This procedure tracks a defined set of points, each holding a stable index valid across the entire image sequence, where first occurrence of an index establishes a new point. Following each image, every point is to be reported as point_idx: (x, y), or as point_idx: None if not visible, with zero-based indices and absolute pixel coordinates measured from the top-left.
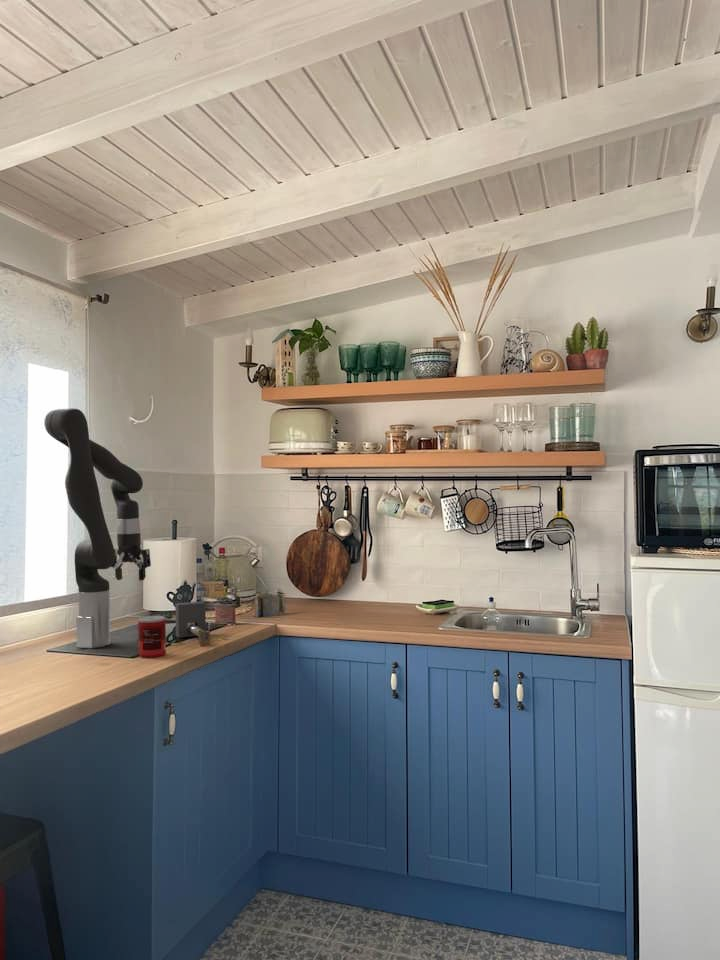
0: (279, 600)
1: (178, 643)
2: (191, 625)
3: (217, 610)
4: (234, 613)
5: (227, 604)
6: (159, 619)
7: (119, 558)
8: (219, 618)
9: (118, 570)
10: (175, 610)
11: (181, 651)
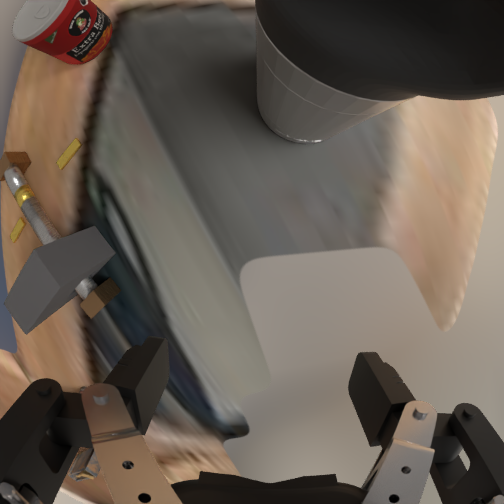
0: (73, 468)
1: (65, 152)
2: None
3: None
4: None
5: None
6: (21, 7)
7: (411, 492)
8: None
9: (385, 401)
10: (74, 276)
11: (44, 93)
